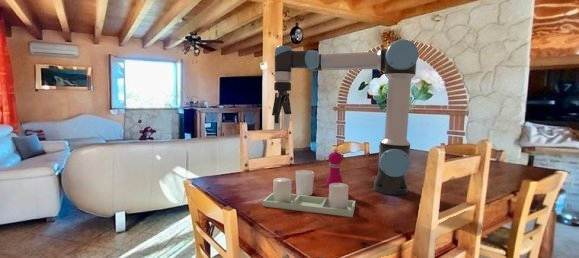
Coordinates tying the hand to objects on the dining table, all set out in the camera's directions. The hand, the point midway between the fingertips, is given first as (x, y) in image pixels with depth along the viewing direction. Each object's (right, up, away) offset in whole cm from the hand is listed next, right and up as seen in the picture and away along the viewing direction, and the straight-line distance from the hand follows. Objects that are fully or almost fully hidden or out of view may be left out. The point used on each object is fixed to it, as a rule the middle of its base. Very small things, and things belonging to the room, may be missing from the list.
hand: (281, 129), depth 141 cm
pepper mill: (+23, -28, -4) cm, 37 cm away
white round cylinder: (+21, -29, -26) cm, 45 cm away
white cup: (+10, -28, -7) cm, 31 cm away
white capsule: (+1, -28, -20) cm, 35 cm away
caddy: (+11, -30, -23) cm, 39 cm away
